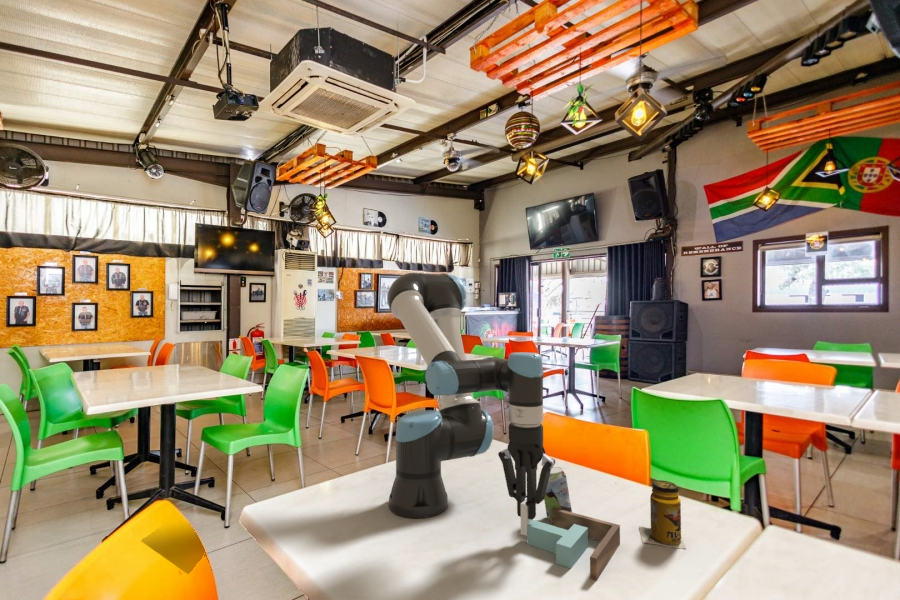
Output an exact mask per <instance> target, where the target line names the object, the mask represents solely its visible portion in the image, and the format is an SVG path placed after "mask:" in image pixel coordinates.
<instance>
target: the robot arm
mask: <svg viewBox="0 0 900 600" xmlns="http://www.w3.org/2000/svg"><path fill="white" fill-rule="evenodd" d="M466 298H467V292H466V288H465V286H464V283H463V281H462V280H461V279H460V278H459V277H458V276H456V275H453V274H446V273H426V272H425V273H424V272H422V273H421V272H420V273H419V272H408V273H404V274H401V275H400V276H399V277H397V278H396V279H395V280H394V281H393V282H392V284H391V285H390V287H389V289H388V292H387V304H388V308H389V310H390V312H391V313H392V315H393V317H394V318H395V319H398V320H400V322H401V323H402V326H403V327H404V329H405V330H406V332H407V333H408V335H409V337H410V339H411V340H412V342H413V344H414V345H415V347H416V348H417V351H418V352H419V354H420V356H421V357H422V359H423V361H424V362H425V364H426V366H427V368H426V370H425V376H424V379H425V382H426V387H427V391H429V392H430V393H431V394H432V395H433V396H441V397H442V405H441V407H440V408H439V410H438V411H437V410H432V409H427V410H424V409H422V410H416V411H412V412H409V413H406V414H404V415H402V416H401V417H400V418H398V420H397V422H396V431H395V477H394V480H393V484H392V487H391V491H390V493H389V498H388V509H389V511H390V512H392V513H393V514H395V515H397V516H400V517H404V518H409V519H421V518H422V519H423V518H430V517H434V516H437V515H440V514H441V513H442V512H445V510H447V508H448V505H449V504H448V503H449V501H448V500H449V499H448V498H449V497H448V493H447V491H446V488H445V483H444V480H443V477H442V462H444V461H452V460H457V459H461V458H462V459H463V458H469V457H470V458H471V457H472V458H473V457H475V456H477V455H482V454H485V453H486V452H487V451H488V450H489V449H490V447H491V445H492V442H493V439H494V432H495V431H494V429H495V428H494V421H493V418H492V417H491V415H490V413H489V412H488V411H487V410H484V409H482V407H481V403H480V401H478V400H477V399H475V398H474V395H473V393H483V392H492V391H501V392H505V393H507V394H508V422H510V423H509V424H508V441H509V442H508V444H507V448H506V449H502V450H500V451H499V452H498V453H497V454H498V457H499V459H500V461H501V463H502V468H503V472H504V478H505V483H506V487H507V491H508V496H509V497H510V498H513V499H515V501H516V510H517V511H516V513H517V514H516V515H517V517H520V535H523V536H526V537H527V525H528V524H529V523H530V522H531V521H532V520H534V519H535V518H536V517H537V512H536V511H537V508H536V507H537V505H539V504H540V503H542V502H543V501H544V498H545V493H546V489H547V485H548V480H549V476H550V472H551V468H552V467H555V466H554V465H555V464H556V459H555V458H550V457H549V455H547V454H546V450H545V448H544V426H543V423H544V402H543V401H544V367H543V357H542V355H541V354H539V353H538V352H527V351H526V352H525V351H524V352H523V351H522V352H520V351H519V352H511V353H509V354H508V357H507V358H508V359H506V358H500V357H499V356H498V357H497V356H494V357H493V356H492V357H491V356H490V357H489V356H487V357H483V358H481V359H466V353H465V349H464V344H463V343H464V342H463V339H462V335H461V329H460V324H459V318H460V317H461V315H462V311H463V309H464V308H465V305H466ZM513 461H514V463H513ZM540 462H541V466H542V468H541V469H540V470H541V471H540V475H539V479H538V482H537V472H538V465H539V463H540Z"/></svg>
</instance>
